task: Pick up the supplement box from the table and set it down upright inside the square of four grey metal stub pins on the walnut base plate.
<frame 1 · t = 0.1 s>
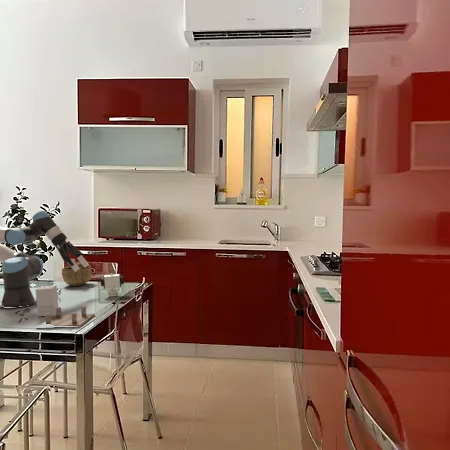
hand: (82, 268, 249), 15 cm above the table, tool tilted 35°, fingers open, 13 cm apart
tan woven basket: (77, 285, 287), on the table
pneumatic valve: (113, 296, 250), on the table
supplement box: (48, 315, 215), on the table
stub plate: (66, 322, 200), on the table
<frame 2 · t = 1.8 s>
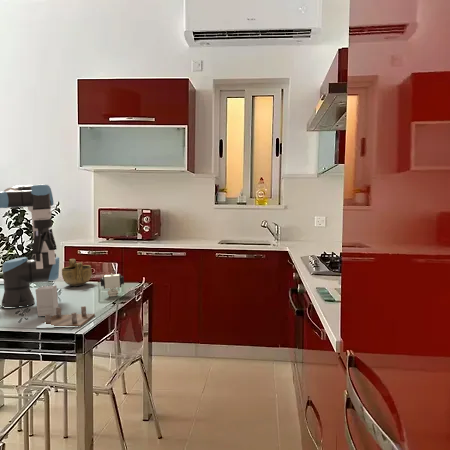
hand: (46, 266, 214), 22 cm above the table, tool pointing down, fingers open, 13 cm apart
nothing on the table moved.
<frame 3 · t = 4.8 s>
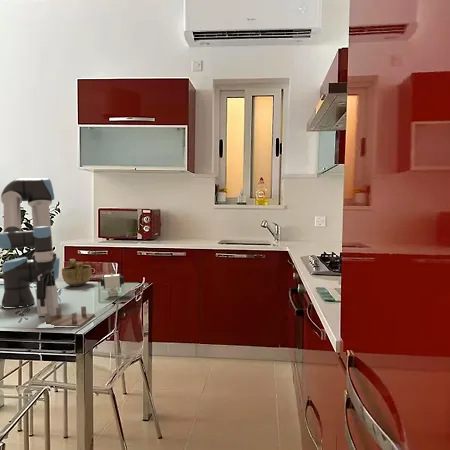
hand: (48, 311, 215), 2 cm above the table, tool pointing down, fingers closed on supplement box, 8 cm apart
supplement box: (48, 315, 215), on the table, touching gripper
everything else where it was.
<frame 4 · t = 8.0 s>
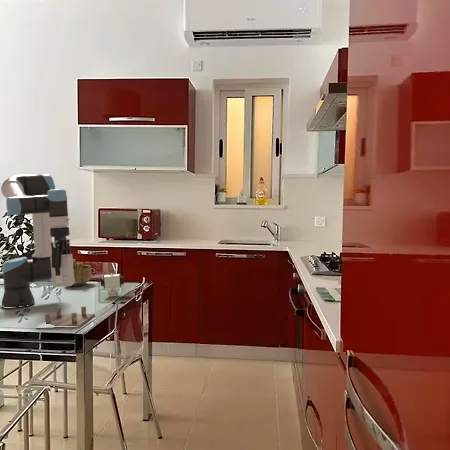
hand: (63, 281, 199), 17 cm above the table, tool pointing down, fingers closed on supplement box, 8 cm apart
supplement box: (63, 285, 199), point 15 cm above the table, touching gripper
everything else where it was.
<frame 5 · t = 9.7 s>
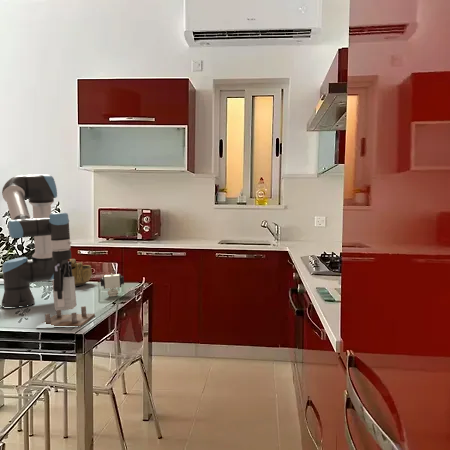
hand: (65, 304, 200), 8 cm above the table, tool pointing down, fingers closed on supplement box, 8 cm apart
supplement box: (65, 308, 200), point 6 cm above the table, touching gripper
everything else where it was.
when the fingers open (4 cm above the table, at t = 11.2 s): supplement box drops 1 cm, resting on stub plate.
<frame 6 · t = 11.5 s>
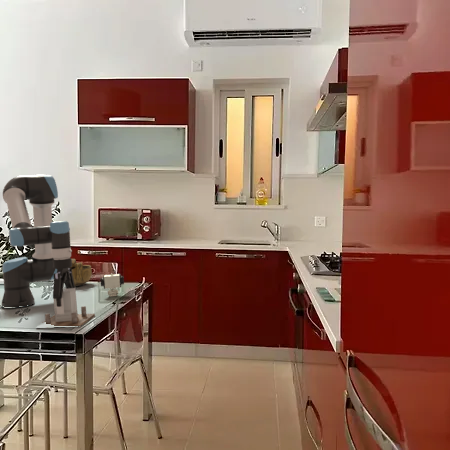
hand: (65, 310, 200), 5 cm above the table, tool pointing down, fingers open, 10 cm apart
supplement box: (66, 320, 201), point 1 cm above the table, touching stub plate
everything else where it was.
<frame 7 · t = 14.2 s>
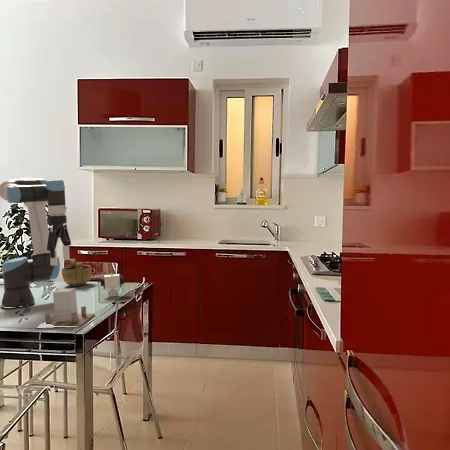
hand: (60, 262, 213), 23 cm above the table, tool pointing down, fingers open, 13 cm apart
nothing on the table moved.
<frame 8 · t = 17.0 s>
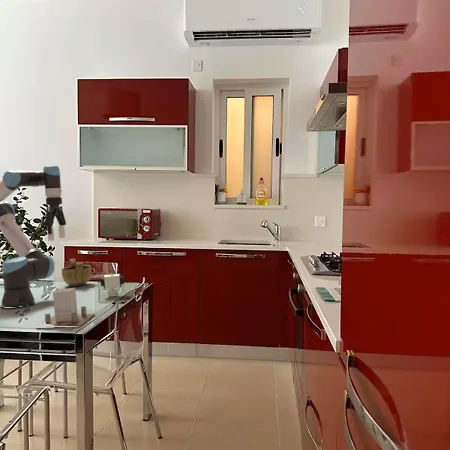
hand: (56, 239, 240), 32 cm above the table, tool pointing down, fingers open, 13 cm apart
nothing on the table moved.
at the end: supplement box 0.3 cm off-centre on the stub plate, point 0.8 cm above the stub plate's base; supplement box tilted 0°; the gripper is holding nothing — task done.
